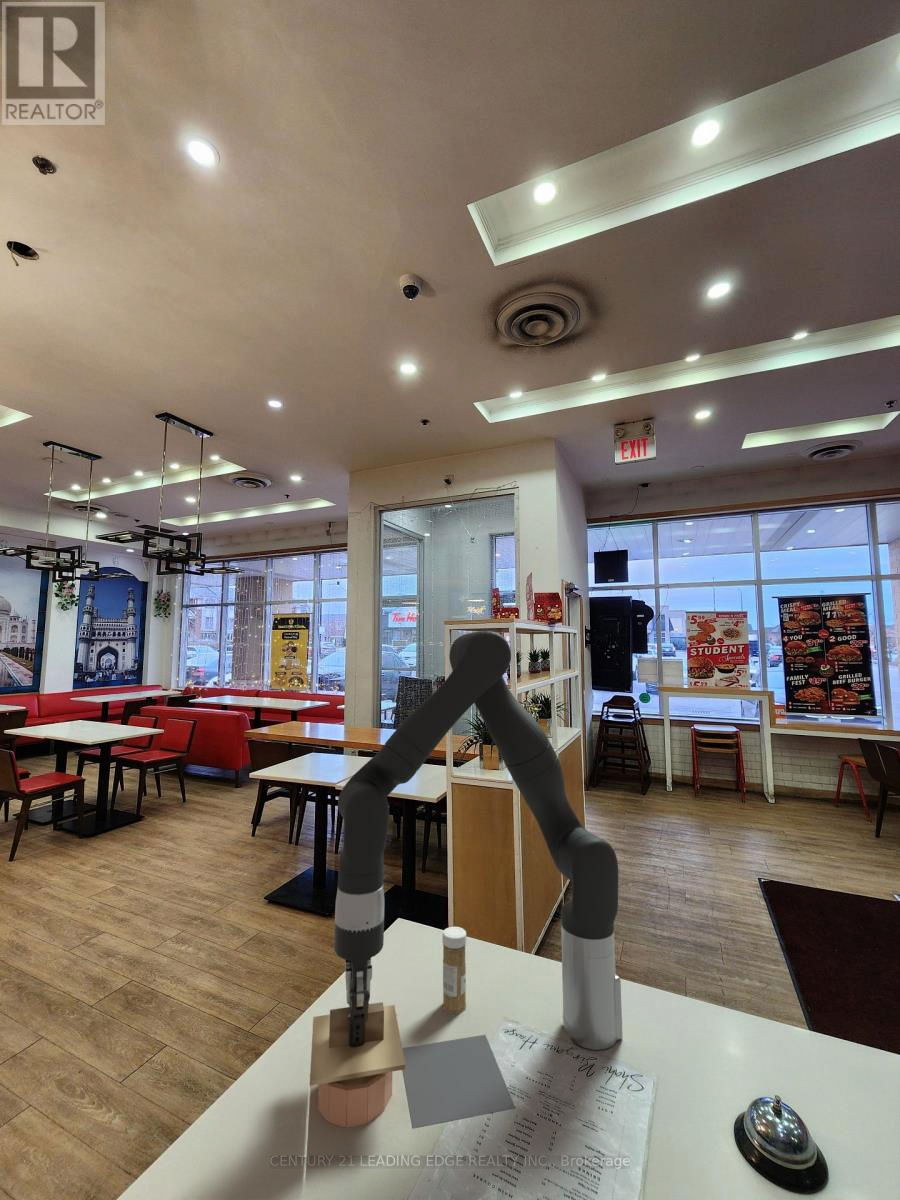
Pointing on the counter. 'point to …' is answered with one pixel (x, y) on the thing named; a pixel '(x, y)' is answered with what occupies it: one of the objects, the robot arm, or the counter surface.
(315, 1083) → the board
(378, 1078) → the terracotta ring
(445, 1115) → the rubber mat
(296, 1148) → the counter surface
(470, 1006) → the counter surface
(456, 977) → the sprinkles bottle
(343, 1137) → the counter surface
